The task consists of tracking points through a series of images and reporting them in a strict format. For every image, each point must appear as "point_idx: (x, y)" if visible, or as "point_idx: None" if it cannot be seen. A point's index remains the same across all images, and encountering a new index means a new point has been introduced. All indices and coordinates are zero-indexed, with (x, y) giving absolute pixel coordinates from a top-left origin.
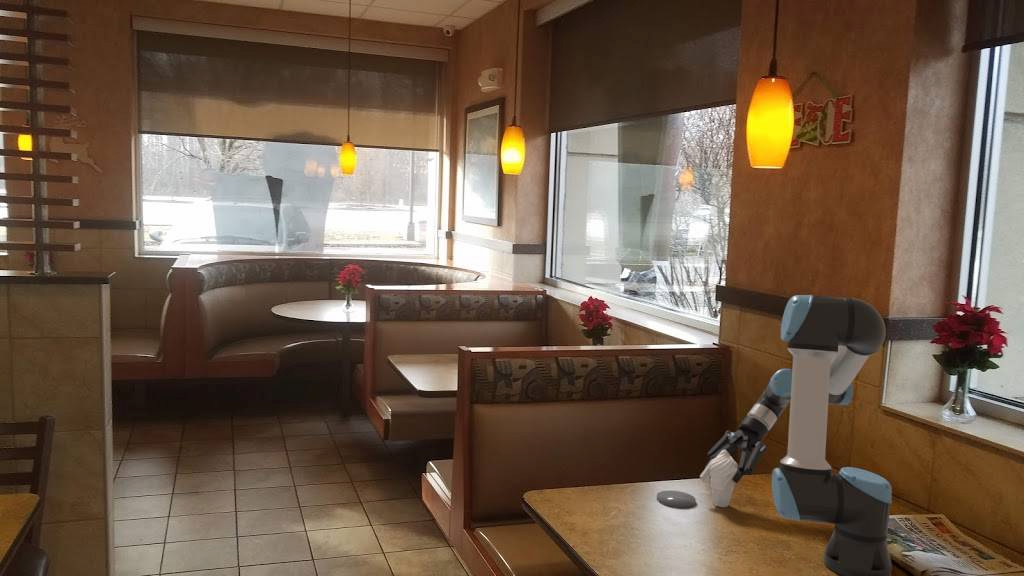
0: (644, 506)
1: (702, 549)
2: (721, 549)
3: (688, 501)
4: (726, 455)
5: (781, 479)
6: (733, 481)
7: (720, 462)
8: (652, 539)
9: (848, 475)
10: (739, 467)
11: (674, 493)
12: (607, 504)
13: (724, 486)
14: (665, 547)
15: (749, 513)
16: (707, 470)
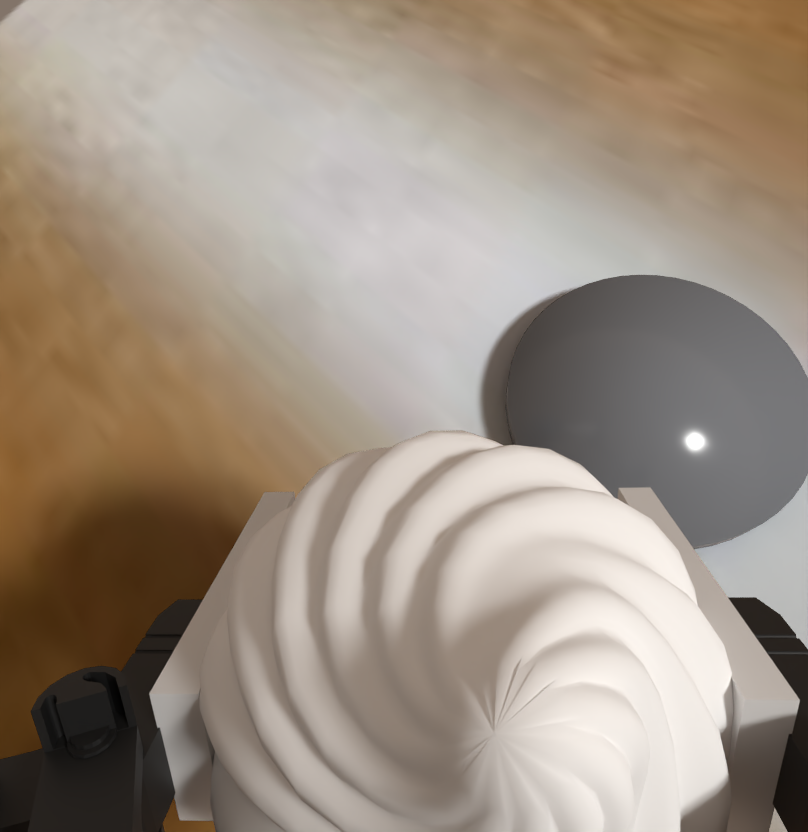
0: (621, 183)
1: (69, 124)
2: (8, 189)
3: (553, 422)
4: (401, 668)
5: None
6: None
7: (379, 474)
8: (266, 23)
9: None
10: (67, 682)
11: (741, 439)
12: (707, 50)
13: (264, 494)
14: (181, 25)
15: None
16: None
